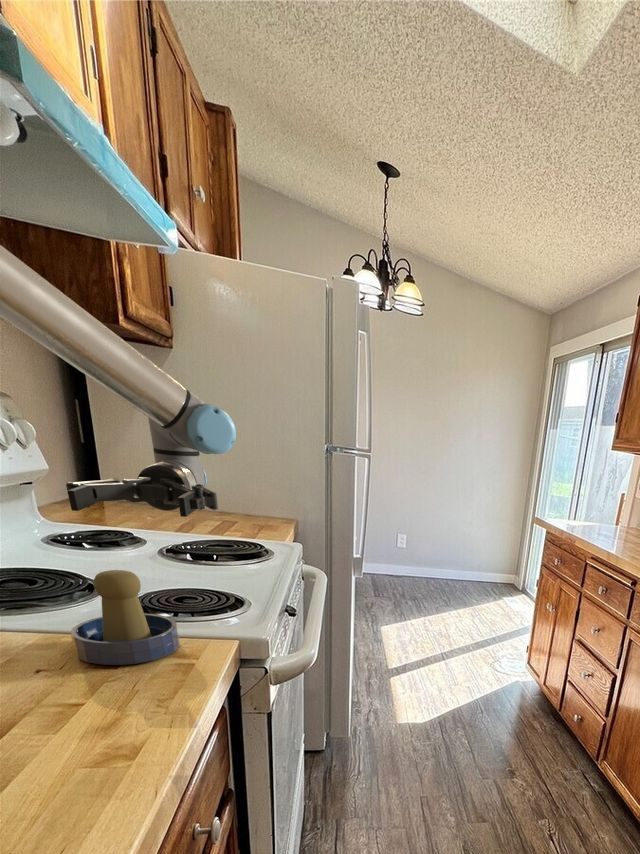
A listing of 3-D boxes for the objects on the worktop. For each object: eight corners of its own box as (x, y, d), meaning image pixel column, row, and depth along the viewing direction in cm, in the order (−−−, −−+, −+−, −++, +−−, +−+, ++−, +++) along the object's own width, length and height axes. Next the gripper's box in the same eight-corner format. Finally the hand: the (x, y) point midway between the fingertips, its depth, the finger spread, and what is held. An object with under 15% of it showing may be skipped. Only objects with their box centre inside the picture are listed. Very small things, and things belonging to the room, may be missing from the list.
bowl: (57, 666, 72) (51, 641, 71) (102, 633, 83) (98, 611, 82) (161, 668, 75) (156, 644, 73) (191, 637, 86) (188, 615, 84)
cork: (93, 649, 77) (75, 571, 72) (134, 637, 82) (120, 563, 78) (125, 659, 75) (109, 580, 71) (164, 646, 80) (152, 571, 76)
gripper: (246, 512, 103) (227, 535, 85) (88, 502, 96) (30, 525, 77) (242, 469, 100) (221, 483, 82) (79, 456, 93) (16, 468, 74)
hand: (128, 504), depth 79 cm, fingers open, 13 cm apart
